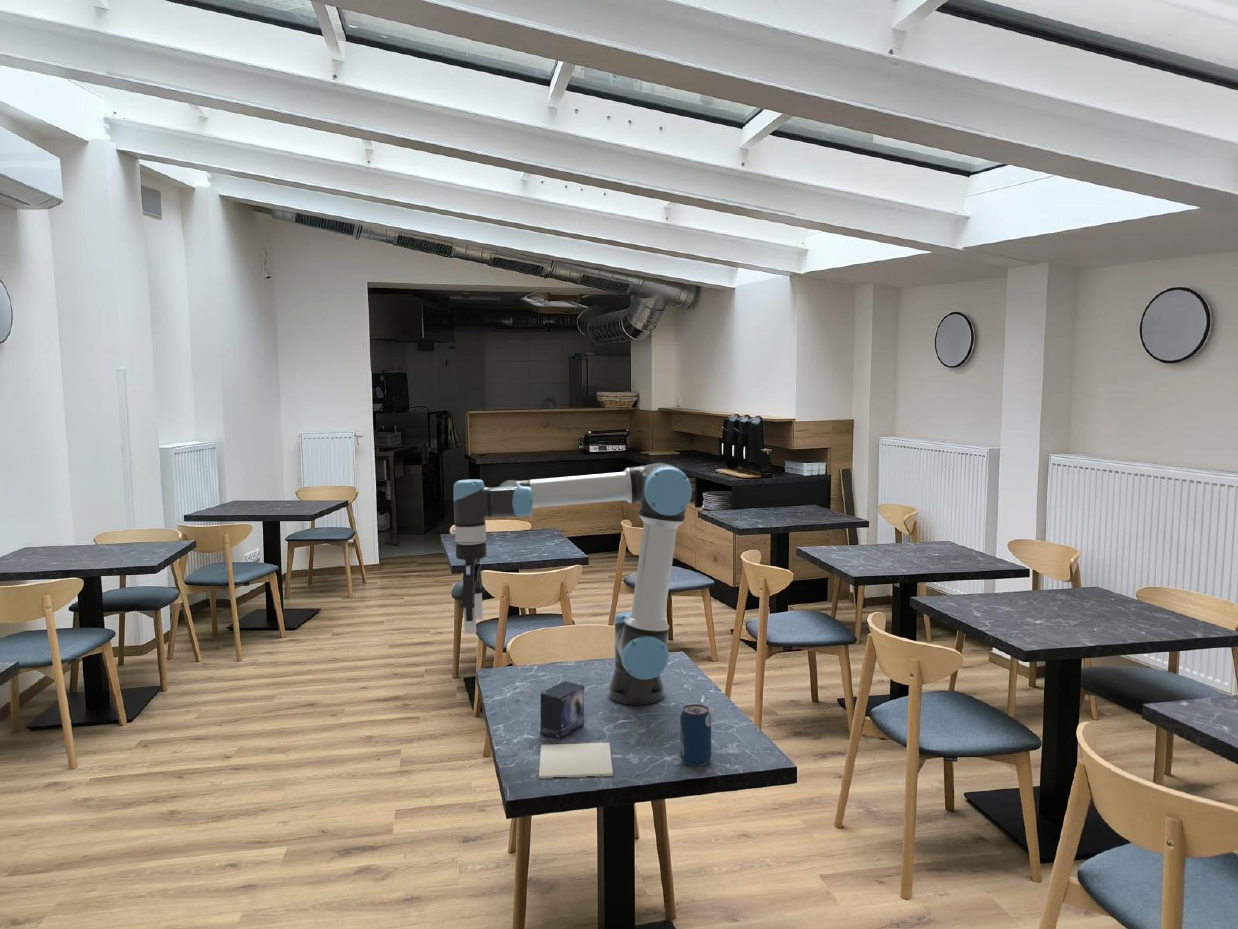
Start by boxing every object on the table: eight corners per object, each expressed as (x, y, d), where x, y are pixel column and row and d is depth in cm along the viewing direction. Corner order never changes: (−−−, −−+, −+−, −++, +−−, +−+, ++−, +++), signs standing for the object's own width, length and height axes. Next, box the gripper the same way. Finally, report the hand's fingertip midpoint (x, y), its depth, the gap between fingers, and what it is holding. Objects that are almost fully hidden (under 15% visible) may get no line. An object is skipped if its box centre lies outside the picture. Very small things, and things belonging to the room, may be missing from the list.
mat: (609, 745, 197) (609, 742, 197) (612, 775, 181) (612, 773, 181) (541, 747, 196) (541, 745, 196) (538, 778, 180) (538, 775, 180)
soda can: (717, 760, 188) (717, 708, 187) (697, 770, 184) (697, 717, 183) (693, 751, 193) (693, 701, 192) (674, 761, 188) (673, 709, 187)
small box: (561, 740, 200) (560, 697, 200) (539, 734, 204) (538, 692, 203) (585, 725, 209) (585, 684, 208) (564, 720, 213) (564, 680, 212)
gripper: (462, 534, 220) (465, 613, 222) (447, 551, 195) (451, 640, 197) (491, 533, 221) (494, 612, 222) (480, 550, 196) (483, 639, 198)
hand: (474, 625), depth 210 cm, fingers open, 13 cm apart
